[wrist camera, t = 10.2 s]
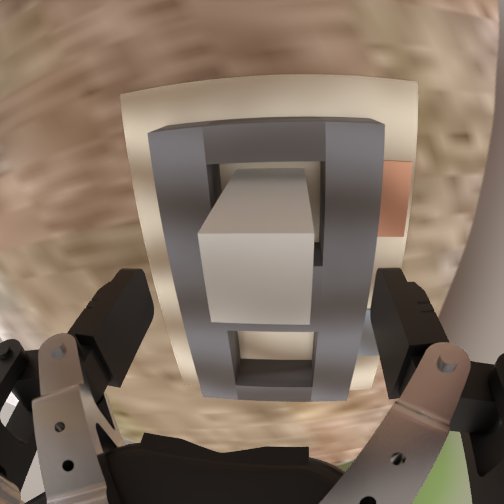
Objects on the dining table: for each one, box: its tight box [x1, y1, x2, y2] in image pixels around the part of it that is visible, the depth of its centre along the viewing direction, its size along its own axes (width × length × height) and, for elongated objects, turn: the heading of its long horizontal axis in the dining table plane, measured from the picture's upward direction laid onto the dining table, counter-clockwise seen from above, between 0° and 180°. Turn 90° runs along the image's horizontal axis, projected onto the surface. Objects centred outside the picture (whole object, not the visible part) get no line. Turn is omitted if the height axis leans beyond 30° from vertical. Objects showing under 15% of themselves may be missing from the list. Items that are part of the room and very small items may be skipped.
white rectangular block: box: [198, 168, 314, 325], centre depth 16 cm, size 4×4×9 cm
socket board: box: [120, 74, 418, 402], centre depth 22 cm, size 26×18×4 cm
